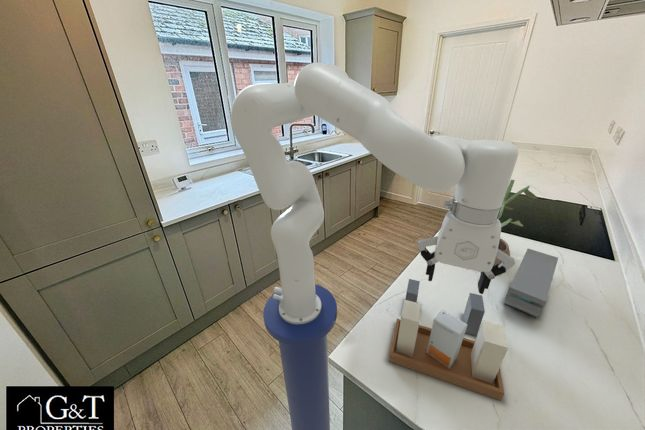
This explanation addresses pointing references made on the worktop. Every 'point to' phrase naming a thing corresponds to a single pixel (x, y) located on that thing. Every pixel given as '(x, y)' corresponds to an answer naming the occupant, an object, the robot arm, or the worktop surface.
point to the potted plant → (502, 244)
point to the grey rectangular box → (532, 282)
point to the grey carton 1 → (412, 290)
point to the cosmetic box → (446, 338)
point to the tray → (428, 365)
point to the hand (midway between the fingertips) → (454, 283)
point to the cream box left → (408, 327)
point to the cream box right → (488, 351)
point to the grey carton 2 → (473, 313)
